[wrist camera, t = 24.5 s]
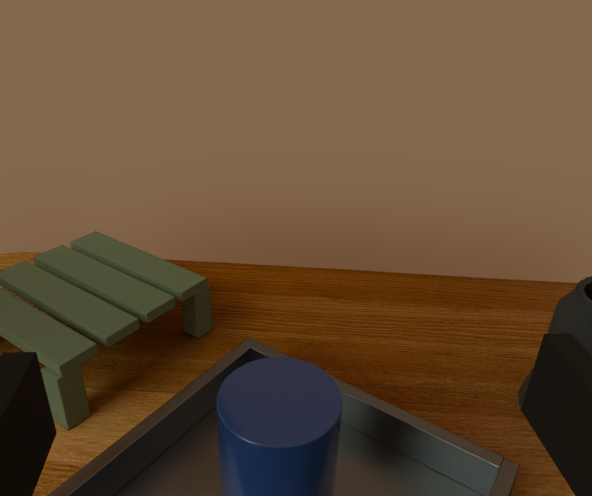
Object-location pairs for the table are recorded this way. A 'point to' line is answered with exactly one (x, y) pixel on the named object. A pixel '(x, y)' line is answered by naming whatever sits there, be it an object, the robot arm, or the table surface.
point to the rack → (91, 309)
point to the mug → (571, 320)
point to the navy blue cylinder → (278, 429)
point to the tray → (350, 462)
